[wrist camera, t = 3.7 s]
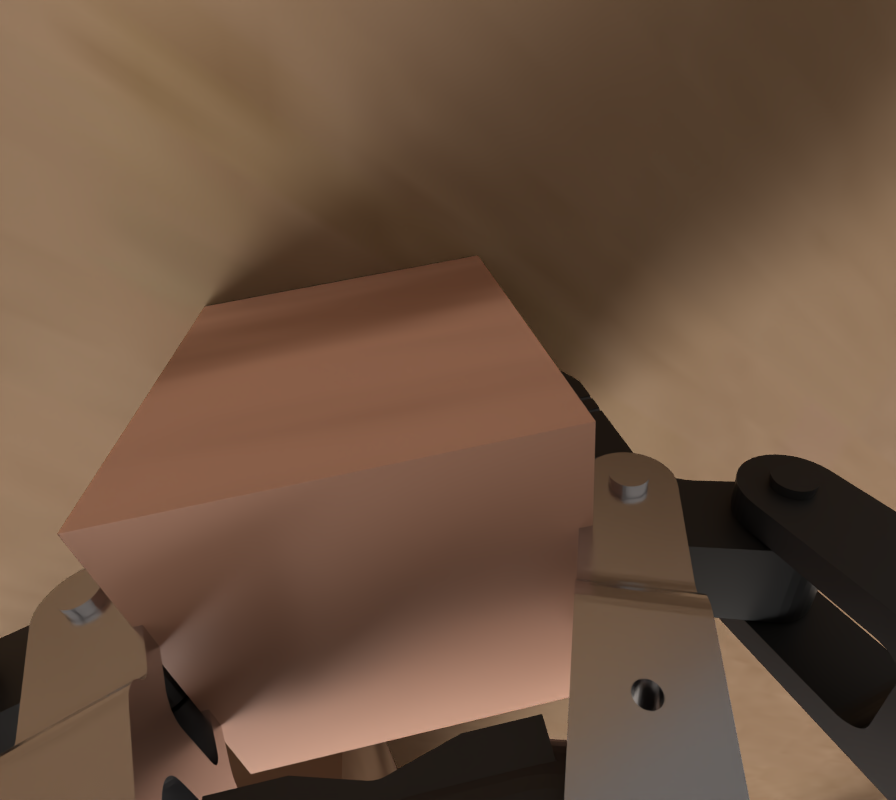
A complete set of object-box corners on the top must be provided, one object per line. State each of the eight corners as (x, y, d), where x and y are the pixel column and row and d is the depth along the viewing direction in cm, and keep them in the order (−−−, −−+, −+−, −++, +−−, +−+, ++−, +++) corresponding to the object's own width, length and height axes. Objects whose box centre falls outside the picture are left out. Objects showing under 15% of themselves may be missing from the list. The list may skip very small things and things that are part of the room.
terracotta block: (204, 306, 10) (58, 534, 5) (477, 255, 10) (596, 421, 5) (289, 506, 13) (250, 774, 8) (499, 462, 13) (588, 692, 8)
